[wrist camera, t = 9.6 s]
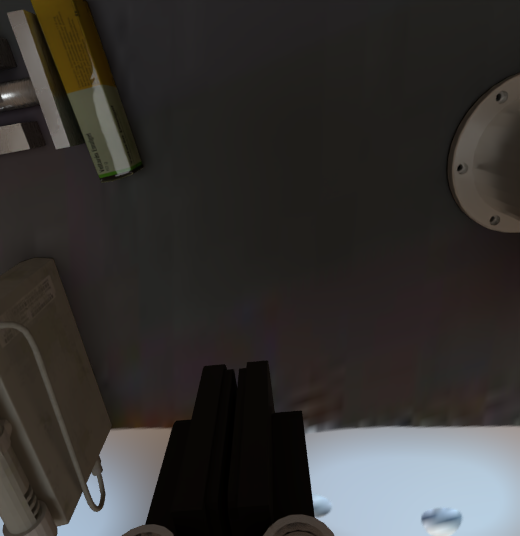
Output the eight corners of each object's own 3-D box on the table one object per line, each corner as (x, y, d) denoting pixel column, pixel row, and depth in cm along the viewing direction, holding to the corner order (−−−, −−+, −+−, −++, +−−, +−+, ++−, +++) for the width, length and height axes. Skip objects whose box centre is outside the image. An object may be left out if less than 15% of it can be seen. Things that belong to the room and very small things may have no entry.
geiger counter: (-136, 352, 22) (22, 612, 32) (-27, 340, 22) (99, 606, 32) (7, 260, 35) (89, 465, 45) (77, 251, 35) (144, 459, 45)
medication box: (147, 168, 32) (134, 176, 29) (115, 176, 33) (99, 185, 29) (88, -2, 28) (65, -19, 24) (52, 8, 28) (23, -7, 24)
